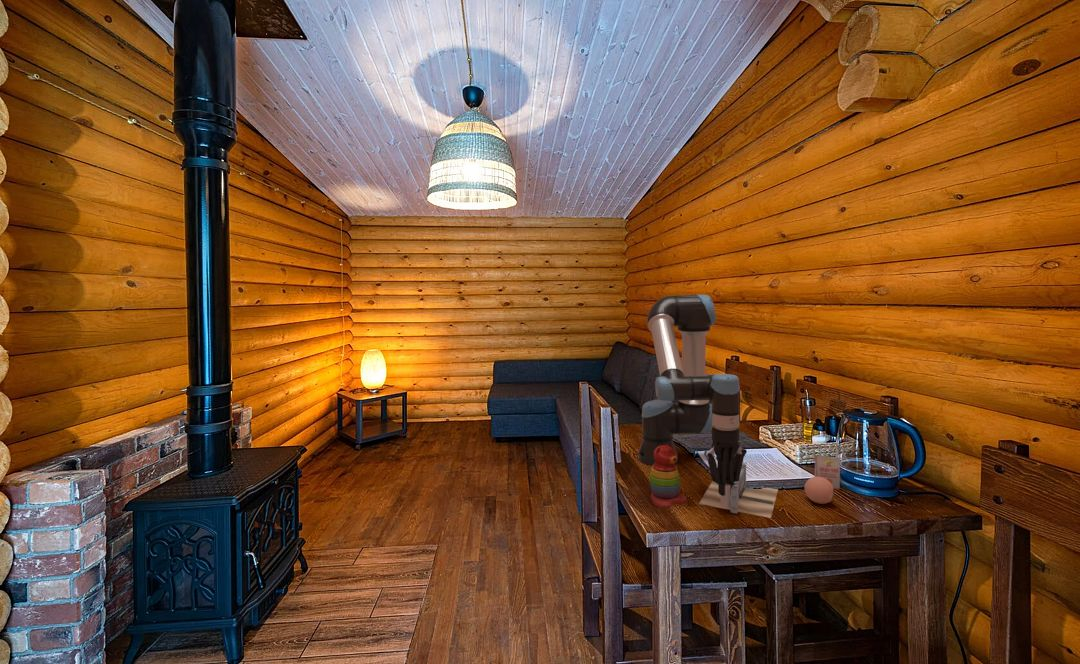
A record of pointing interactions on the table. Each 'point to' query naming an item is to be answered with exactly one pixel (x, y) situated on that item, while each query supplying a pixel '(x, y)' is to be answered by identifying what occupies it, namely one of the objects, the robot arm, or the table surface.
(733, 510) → the gray castle wall
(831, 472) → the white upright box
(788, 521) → the table surface
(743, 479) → the fixed fence panel
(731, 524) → the table surface
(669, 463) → the stacking bear
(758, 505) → the board
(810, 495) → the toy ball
